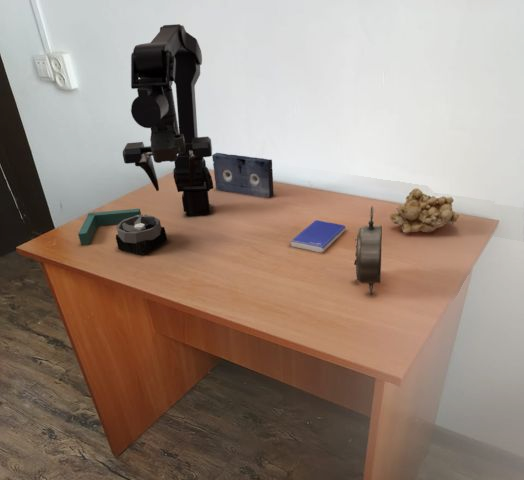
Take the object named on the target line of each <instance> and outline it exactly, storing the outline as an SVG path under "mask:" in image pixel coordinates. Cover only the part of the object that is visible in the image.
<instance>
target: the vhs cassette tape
mask: <svg viewBox="0 0 524 480" xmlns="http://www.w3.org/2000/svg"><path fill="white" fill-rule="evenodd" d="M211 158H212V162H213V163H212V166H213V175H214V182H215V183H214V184H215V189H216V191H222V192H223V191H224V192H229V193H233V194H234V193H236V194H242V195H247V196H254V197H260V198H266V199H267V198H271V197H272V196H274V175H273V170H274V169H273V159H268V158H263V157H262V158H261V157H252V156H247V155H237V154H229V153H222V152H215V153H212V156H211Z"/></svg>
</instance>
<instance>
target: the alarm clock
mask: <svg viewBox="0 0 524 480" xmlns="http://www.w3.org/2000/svg"><path fill="white" fill-rule="evenodd" d="M369 216H370V217H369V218H370V220H369V221H368V225H362V226H361V227H360V228H359V229H358V231H357V235H356V238H355V239H354V240H355V242H356V245H355V248H356V250H355V259H354V262H353V265H354V266H355V276H356V279H355V280H354V283H357V282H358V283H360V284H368V285H369V287H368V288H369V292H368V294H369V295H370V296H372V295H373V290H374V285H375V284H380V283H381V279H382V278H381V277H382V276H381V275H382V274H381V273H382V243H383V242H382V241H383V225H374V223H375V222H374V220H373V219H374V205H371V206H370V215H369Z"/></svg>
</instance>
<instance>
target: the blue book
mask: <svg viewBox="0 0 524 480" xmlns="http://www.w3.org/2000/svg"><path fill="white" fill-rule="evenodd" d="M345 231H346V226H345V225H344V224H340V223H333V222H328V221H323V220H314V221H313V222H311V224H309V225H308V226H307V227H305V228H304V229H303V230H302V231H301V232H300V233H298V234H297V235H296V236H295V237H294V238H292V239H291V240H290V246H291V247H293V248H297V249H302V250H306V251H311V252H316V253H319V254H320V253H324V252H325V251H326V250H327V249H328V248H329V247H330V246H331V245H332V244H333V243H334V242H335V241H336V240H337V239H338V238H339V237H340V236H342V234H343V233H345Z"/></svg>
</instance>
